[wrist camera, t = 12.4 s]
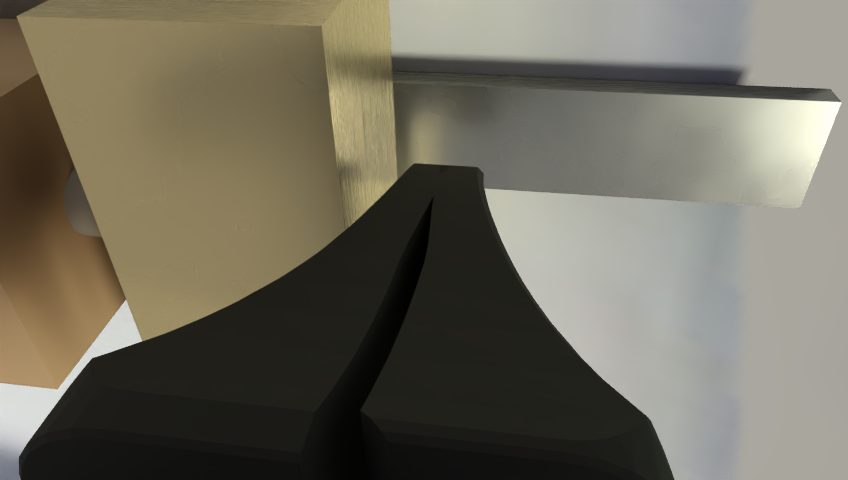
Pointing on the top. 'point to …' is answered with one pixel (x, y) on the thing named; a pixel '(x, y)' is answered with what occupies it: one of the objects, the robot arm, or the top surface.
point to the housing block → (44, 235)
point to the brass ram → (218, 136)
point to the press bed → (610, 134)
